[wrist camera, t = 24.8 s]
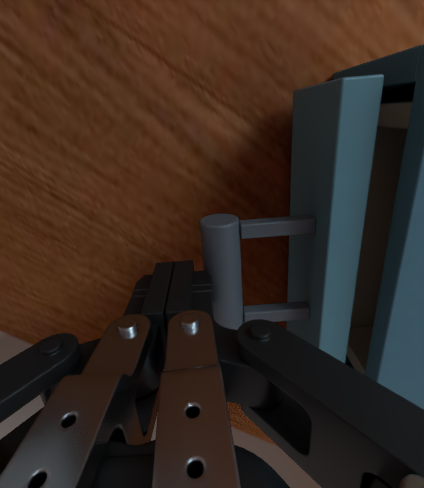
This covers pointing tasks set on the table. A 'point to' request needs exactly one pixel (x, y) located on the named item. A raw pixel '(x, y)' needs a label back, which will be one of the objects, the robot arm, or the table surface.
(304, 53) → the table surface
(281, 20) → the table surface
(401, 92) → the cabinet
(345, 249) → the drawer
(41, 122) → the table surface
